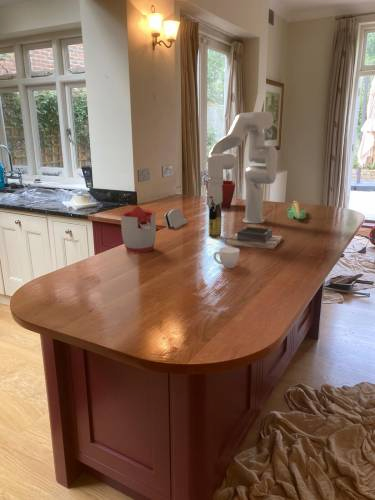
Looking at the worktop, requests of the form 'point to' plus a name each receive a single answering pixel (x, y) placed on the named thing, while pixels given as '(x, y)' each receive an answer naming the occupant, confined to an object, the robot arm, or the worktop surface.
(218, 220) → the sauce bottle
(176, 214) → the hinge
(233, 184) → the plant pot
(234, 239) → the bottle dock
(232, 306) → the worktop surface
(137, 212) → the citrus juicer
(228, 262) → the cup
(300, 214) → the toy spaceship
